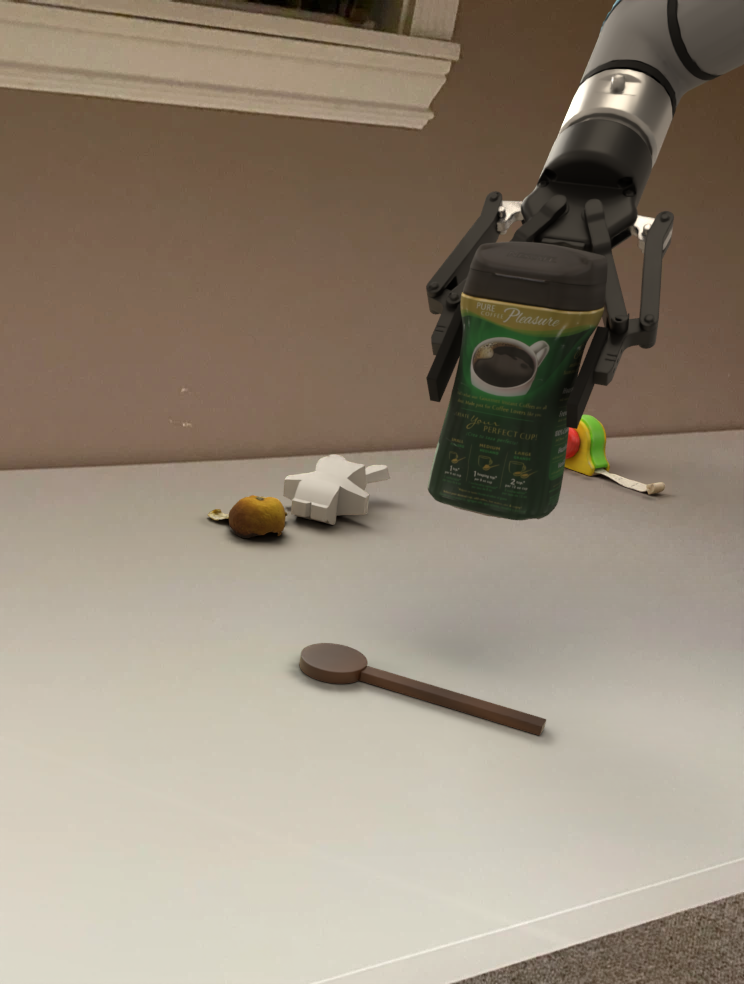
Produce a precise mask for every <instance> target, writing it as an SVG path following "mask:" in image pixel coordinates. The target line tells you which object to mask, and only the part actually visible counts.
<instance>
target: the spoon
mask: <svg viewBox="0 0 744 984" xmlns="http://www.w3.org/2000/svg"><path fill="white" fill-rule="evenodd" d="M298 663H299V669H300V670H301V671H302V672H303V674H305V675H307V676H308V677H310V678H312V679H314V680H316V681H320V682H323V683H327V684H337V685H339V684H340V685H345V684H353V683H357V682H362V683H365V684H369V685H372V686H375V687H377V688H378V687H379V688H383V689H385V690H389V691H392V692H395V693H399V694H402V695H405V696H408V697H412V698H415V699H418V700H420V701H421V700H422V701H424V702H427V703H431V704H434V705H437V706H440V707H444V708H448V709H451V710H454V711H457V712H461V713H464V714H467V715H470V716H474V717H477V718H480V719H482V720H483V719H484V720H486V721H487V720H488V721H491V722H493V723H497V724H500V725H503V726H507V727H510V728H514V729H517V730H518V731H519V730H520V731H524V732H525V733H530V734H533V735H536V736H541V735H542V733H543V731H544V729H545V726H546V723H547V718H544V717H540V716H537V715H534V714H530V713H528V712H524V711H522V710H521V711H520V710H518V709H515V708H510V707H507V706H504V705H500V704H498V703H494V702H490V701H487V700H485V699H480V698H478V697H473V696H471V695H467V694H464V693H460V692H457V691H454V690H450V689H446V688H443V687H440V686H437V685H433V684H430V683H426V682H424V681H420V680H417V679H414V678H409V677H406V676H404V675H401V674H400V675H399V674H396V673H393V672H389V671H387V670H384V669H379V668H376V667H374V666H370V665H368V659H367V657H366V655H364V654H363V652H361V651H359V650H358V649H355V648H353V647H350V646H348V645H344V644H340V643H339V644H338V643H332V642H318V643H313V644H310V645H307V646H305V647H304V648H303V649H301V652H300V655H299V662H298Z"/></svg>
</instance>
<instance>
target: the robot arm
mask: <svg viewBox="0 0 744 984" xmlns="http://www.w3.org/2000/svg"><path fill="white" fill-rule="evenodd" d="M743 65H744V0H615V2H614V4H612V8H611V10H610V11H609V12H608V13H607V14H606V17H605V19H604V20H603V22H602V24H601V27H600V30H599V35H598V38H597V41H596V43H595V45H594V48H593V50H592V53H591V54H590V58H589V60H588V62H587V65H586V67H585V70H584V72H583V75H582V77H581V80H580V82H579V84H578V87H577V90H576V92H575V94H574V96H573V98H572V100H571V103H570V105H569V108H568V110H567V112H566V115H565V117H564V120H563V122H562V124H561V127H560V129H559V132H558V134H557V137H556V139H555V140H554V143H553V144H552V147H551V149H550V151H549V154H548V157H547V159H546V161H545V163H544V165H543V168H542V171H541V173H540V175H539V178H538V179H537V180H538V181H537V183H536V186H535V187H534V189H533V190H532V191H531V192H530V193H529V194H528V195H527V196H525V197H524V199H523V200H503V194H502V193H501V192H500V191H497V190H495V191H491V192H489V193H488V194H487V195H486V196H485V199H484V202H483V206H482V209H481V213H480V215H479V216H478V218H477V219H476V221H475V222H474V223H473V224H472V225H471V227H470V228H469V230H467V232H465V235H463V237H462V239H460V240H459V242H458V243H457V245H456V246H455V247H454V249H452V251H451V253H450V254H449V255H448V256H447V258H446V259H445V260H444V261H443V263H442V264H441V265H440V267H439V268H438V269H437V270H436V272H435V273H434V274H433V276H432V277H431V278H430V280H428V282H427V284H426V286H425V291H426V296H427V303H428V309H429V312H430V313H431V314H432V315H440V316H439V318H438V320H437V322H436V325H435V327H434V329H433V332H432V334H431V337H430V342H431V343H430V344H431V350H432V356H435V357H434V359H433V361H432V364H431V366H430V369H429V371H428V373H427V375H426V378H425V379H426V384H427V390H428V395H429V396H428V397H429V401H431V402H436V403H441V401H442V398H443V396H444V393H445V391H446V389H447V387H448V385H449V382H450V380H451V377H452V375H453V373H454V370H455V368H456V366H457V363H458V362H459V357H460V351H461V345H462V337H463V322H462V315H461V294H462V292H463V289H464V286H465V282H466V279H467V276H468V273H469V271H470V266H471V263H472V260H473V258H474V255H475V253H476V251H477V249H478V248H479V246H481V245H483V244H487V243H497V242H498V239H499V237H500V236H504V235H506V234H507V232H508V230H509V228H510V227H511V226H512V224H513V223H515V222H521V226H519V227H518V228H517V229H516V230H515V232H514V233H513V236H512V238H511V239H510V240H509V241H508V242H534V243H544V244H551V245H558V246H563V247H568V248H573V249H578V250H582V251H586V252H591V253H595V254H600V255H603V256H605V257H606V259H607V263H608V271H607V282H606V294H605V304H604V312H603V315H602V318H601V320H602V323H603V326H599V325H598V326H597V328H596V329H595V331H594V333H593V336H592V339H591V341H590V345H589V347H588V349H587V352H586V354H585V358H584V359H583V361H582V363H581V366H580V368H579V372H578V376H577V379H576V382H575V384H574V387H573V389H572V392H571V394H570V397H569V399H568V402H567V414H566V427H569V428H574V429H577V428H578V425H579V423H580V420H581V418H582V415H584V412H585V410H586V407H587V405H588V402H589V399H590V397H591V395H592V392H593V389H594V387H595V385H599V386H603V387H604V386H605V387H608V386H609V384H611V382H612V381H613V379H614V376H615V375H616V371H617V369H618V367H619V364H620V361H621V359H622V356H623V354H624V353H625V351H626V350H627V349H628V348H631V347H634V346H636V347H637V346H639V348H641V349H644V350H649V349H651V348H653V347H654V346H655V345H656V343H657V338H658V337H657V335H658V329H659V320H660V307H661V303H660V302H661V290H662V273H663V272H662V271H663V259H664V257H665V255H666V253H667V251H668V250H669V248H670V245H671V243H672V237H673V228H674V220H675V215H674V213H673V212H671V211H669V210H664V211H660V212H659V213H657V214H656V216H655V217H650V216H645V215H640V214H639V211H638V206H639V204H640V201H641V199H642V196H643V194H644V191H645V189H646V186H647V183H648V182H649V179H650V176H651V174H652V170H653V167H654V165H655V164H656V163H657V160H658V156H659V154H660V152H661V149H662V146H663V144H664V141H665V139H666V137H667V133H668V131H669V128H670V126H671V124H672V122H673V119H674V116H675V114H676V111H677V107H678V106H679V103H680V102H681V99H682V98H683V96H684V95H685V94H686V93H687V92H690V91H691V90H693V89H695V88H697V87H699V86H701V85H704V84H706V83H708V82H709V81H712V80H715V79H716V78H719V77H721V76H723V75H725V74H727V73H729V72H731V71H733V70H735V69H737V68H740V67H741V66H743ZM632 236H634V237H636V239H637V241H636V243H637V244H636V245H637V248H638V249H639V250H640V252H641V254H643V261H642V268H641V269H642V270H641V271H642V273H641V284H640V285H641V286H640V287H641V288H640V299H639V300H640V301H639V302H640V303H639V317H636V318H630V313H629V312H628V311H627V307H626V304H625V303H626V302H625V299H624V295H623V292H622V287H621V283H620V280H619V275H618V271H617V267H616V263H615V259H614V255H613V249H615V248H617V247H618V246H619V245H621V244H622V243H624V242H625V241H627V240H628V239H630V238H631V237H632Z"/></svg>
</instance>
